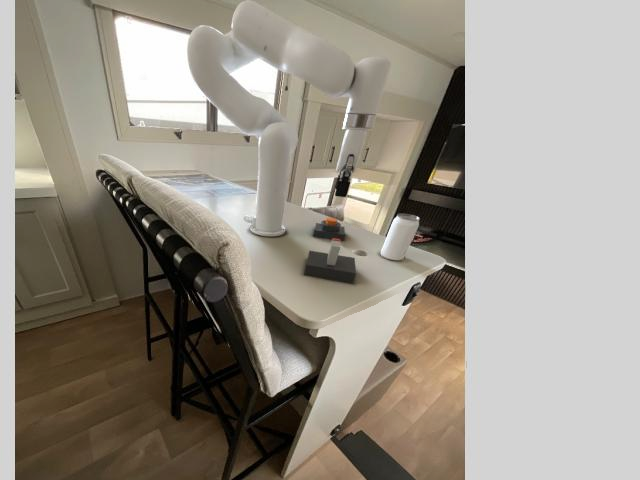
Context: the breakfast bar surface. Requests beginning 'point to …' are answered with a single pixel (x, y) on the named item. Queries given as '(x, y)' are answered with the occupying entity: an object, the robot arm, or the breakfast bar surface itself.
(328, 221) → the button
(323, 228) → the button block
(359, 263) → the breakfast bar surface
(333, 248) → the timer knob
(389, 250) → the can
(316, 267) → the panel
